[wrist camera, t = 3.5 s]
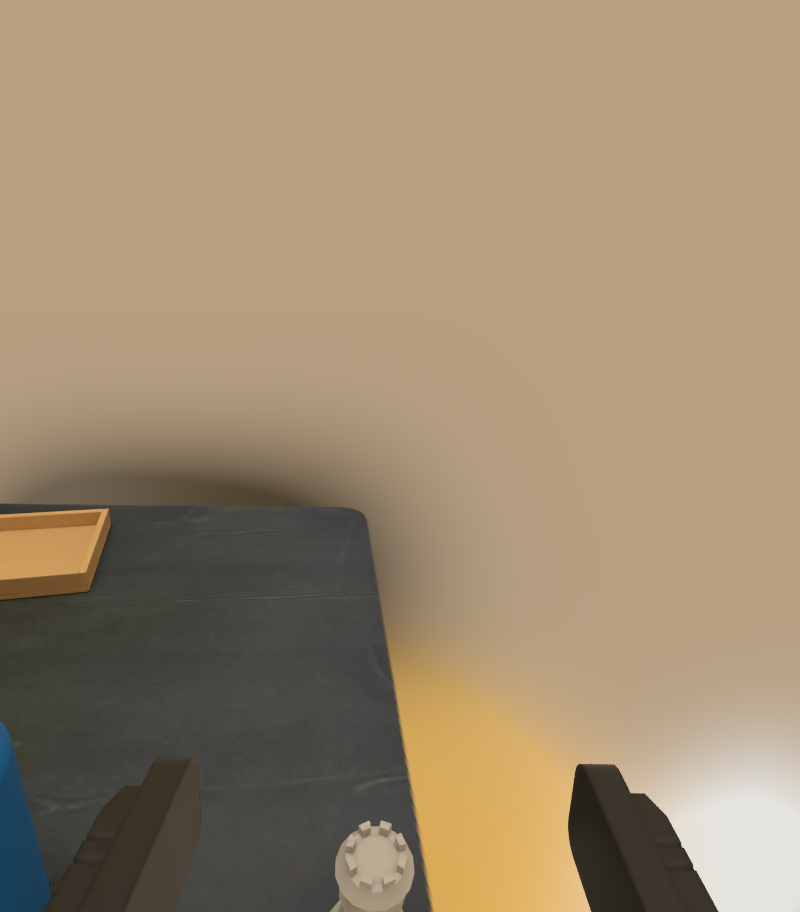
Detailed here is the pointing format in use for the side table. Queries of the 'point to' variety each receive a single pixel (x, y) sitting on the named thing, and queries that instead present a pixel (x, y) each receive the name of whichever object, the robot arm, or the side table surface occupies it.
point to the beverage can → (18, 841)
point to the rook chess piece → (373, 870)
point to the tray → (50, 552)
